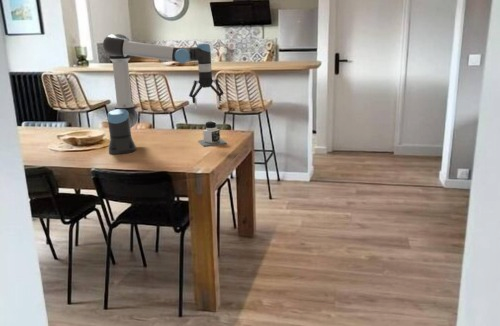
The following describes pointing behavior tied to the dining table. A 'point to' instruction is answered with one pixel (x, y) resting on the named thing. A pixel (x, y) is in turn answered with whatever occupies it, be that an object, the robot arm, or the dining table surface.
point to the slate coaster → (212, 143)
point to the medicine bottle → (211, 133)
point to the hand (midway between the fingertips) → (207, 107)
